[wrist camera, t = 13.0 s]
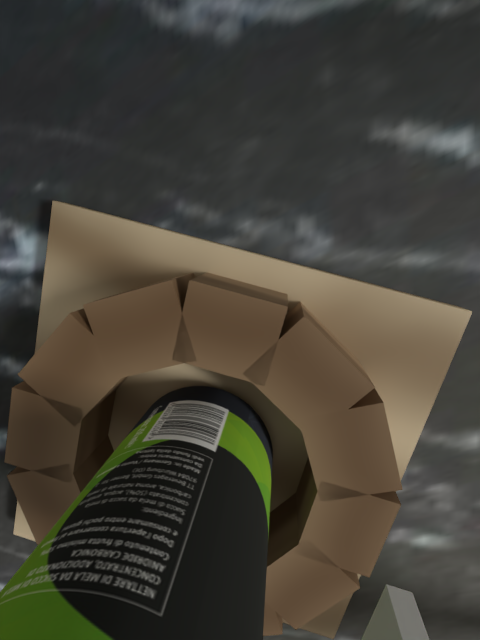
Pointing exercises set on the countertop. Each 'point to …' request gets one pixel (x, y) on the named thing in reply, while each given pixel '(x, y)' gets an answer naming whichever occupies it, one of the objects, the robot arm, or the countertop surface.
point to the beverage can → (159, 534)
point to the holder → (232, 388)
